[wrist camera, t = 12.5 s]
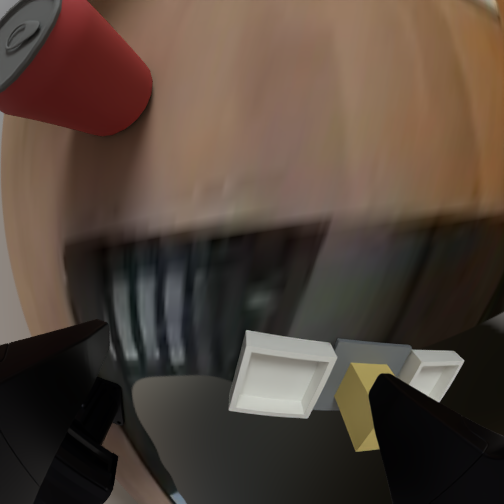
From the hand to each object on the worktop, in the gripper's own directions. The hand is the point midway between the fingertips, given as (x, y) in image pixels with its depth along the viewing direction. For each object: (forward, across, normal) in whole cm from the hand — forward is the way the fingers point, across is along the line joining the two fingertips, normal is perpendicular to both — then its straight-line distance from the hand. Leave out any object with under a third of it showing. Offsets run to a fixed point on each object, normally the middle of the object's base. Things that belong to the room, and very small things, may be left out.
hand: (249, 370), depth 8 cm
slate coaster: (+12, -13, +9) cm, 20 cm away
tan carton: (+12, -13, +9) cm, 19 cm away
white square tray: (+12, -21, +8) cm, 25 cm away
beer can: (+12, +12, -10) cm, 20 cm away
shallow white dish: (+12, -5, +9) cm, 16 cm away
